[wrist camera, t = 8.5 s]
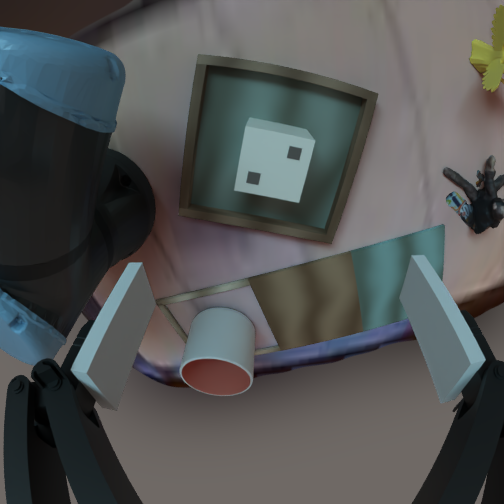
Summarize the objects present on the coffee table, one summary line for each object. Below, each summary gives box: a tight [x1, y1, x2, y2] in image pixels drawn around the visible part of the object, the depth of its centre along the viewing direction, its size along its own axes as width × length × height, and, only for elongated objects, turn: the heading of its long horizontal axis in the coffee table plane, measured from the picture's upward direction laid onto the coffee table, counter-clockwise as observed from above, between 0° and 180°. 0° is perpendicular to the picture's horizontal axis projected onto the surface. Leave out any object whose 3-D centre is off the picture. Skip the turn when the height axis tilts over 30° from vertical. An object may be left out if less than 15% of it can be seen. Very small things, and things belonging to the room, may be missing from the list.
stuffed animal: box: [444, 155, 504, 234], centre depth 30 cm, size 12×10×12 cm
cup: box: [180, 307, 255, 396], centre depth 41 cm, size 10×10×10 cm
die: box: [234, 118, 315, 203], centre depth 27 cm, size 6×6×6 cm
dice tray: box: [179, 54, 378, 244], centre depth 30 cm, size 18×18×2 cm
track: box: [155, 225, 445, 355], centre depth 42 cm, size 43×16×1 cm, turn 110°
